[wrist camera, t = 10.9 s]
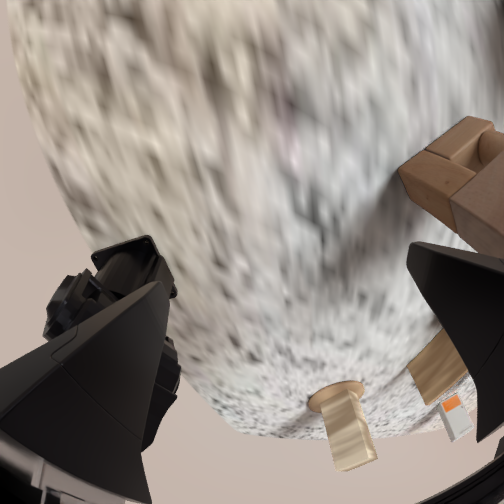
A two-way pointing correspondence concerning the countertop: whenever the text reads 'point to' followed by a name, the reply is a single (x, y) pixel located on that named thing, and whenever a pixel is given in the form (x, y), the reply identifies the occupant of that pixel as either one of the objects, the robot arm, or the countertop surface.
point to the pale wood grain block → (347, 431)
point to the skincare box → (455, 417)
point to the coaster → (334, 393)
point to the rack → (437, 368)
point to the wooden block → (463, 183)
